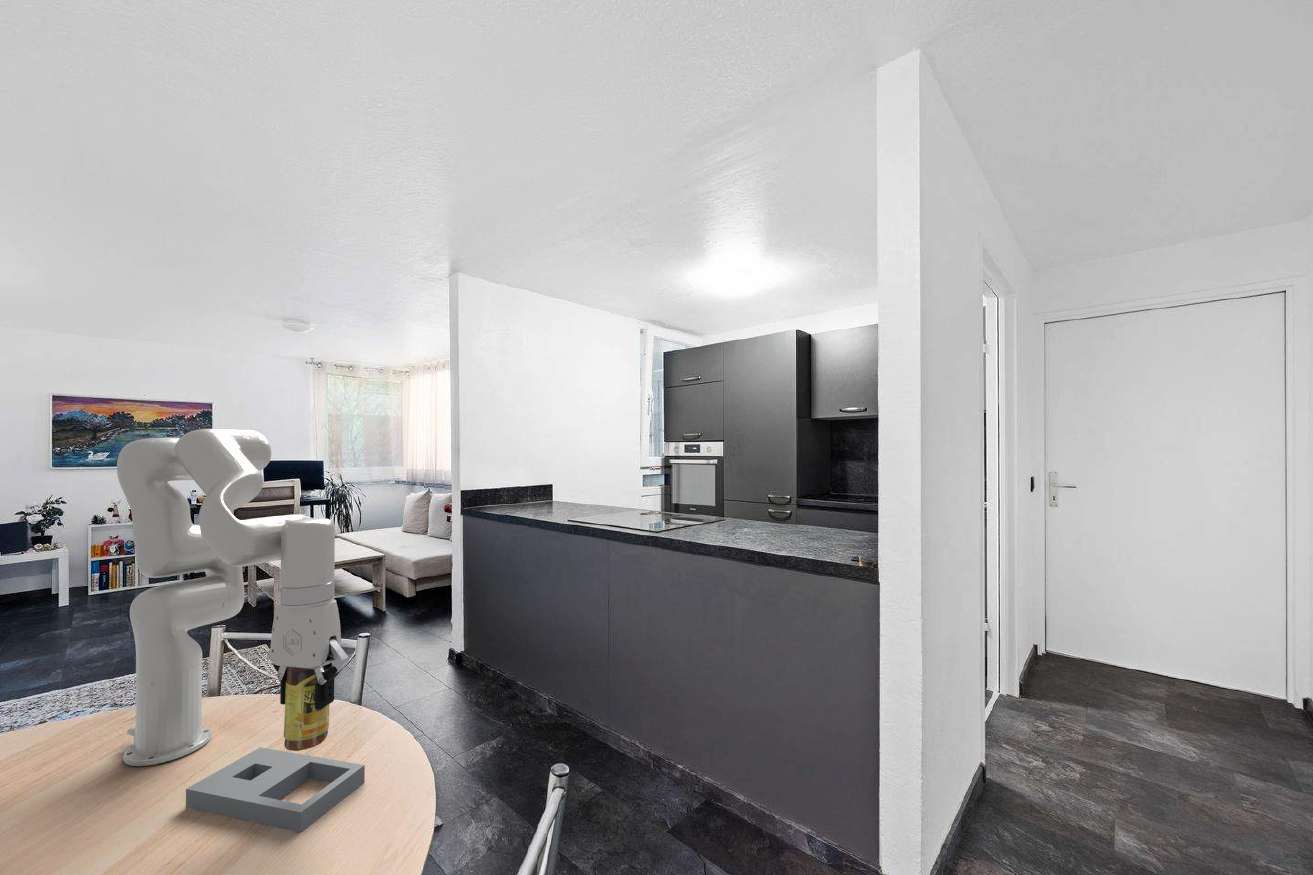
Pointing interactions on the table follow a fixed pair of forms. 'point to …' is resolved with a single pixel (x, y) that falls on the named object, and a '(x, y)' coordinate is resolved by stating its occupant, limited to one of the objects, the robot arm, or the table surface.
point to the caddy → (274, 788)
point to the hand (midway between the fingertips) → (307, 701)
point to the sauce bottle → (303, 711)
